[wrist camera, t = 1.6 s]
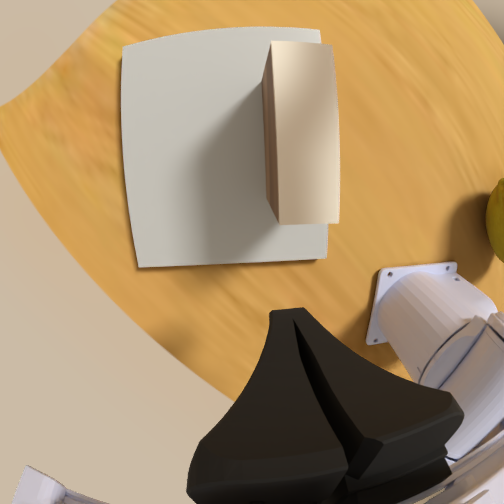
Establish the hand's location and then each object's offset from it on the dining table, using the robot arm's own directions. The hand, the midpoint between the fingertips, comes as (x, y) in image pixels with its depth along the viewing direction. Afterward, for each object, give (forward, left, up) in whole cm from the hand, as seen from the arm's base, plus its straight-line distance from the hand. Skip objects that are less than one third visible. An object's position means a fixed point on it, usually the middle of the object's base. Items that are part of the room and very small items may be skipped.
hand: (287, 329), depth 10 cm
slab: (-1, -8, -9) cm, 12 cm away
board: (+3, -8, -10) cm, 13 cm away
